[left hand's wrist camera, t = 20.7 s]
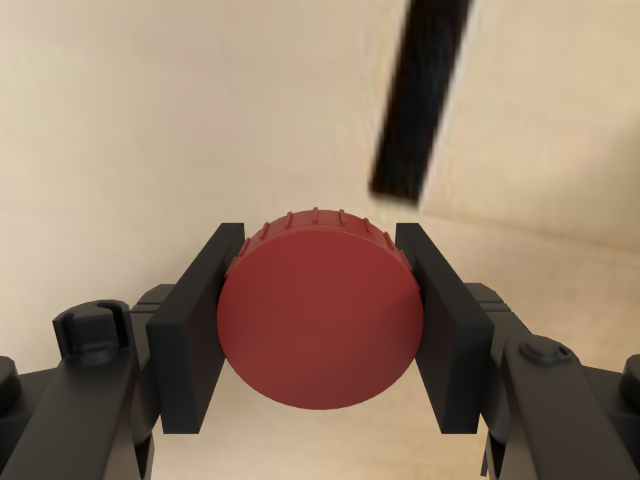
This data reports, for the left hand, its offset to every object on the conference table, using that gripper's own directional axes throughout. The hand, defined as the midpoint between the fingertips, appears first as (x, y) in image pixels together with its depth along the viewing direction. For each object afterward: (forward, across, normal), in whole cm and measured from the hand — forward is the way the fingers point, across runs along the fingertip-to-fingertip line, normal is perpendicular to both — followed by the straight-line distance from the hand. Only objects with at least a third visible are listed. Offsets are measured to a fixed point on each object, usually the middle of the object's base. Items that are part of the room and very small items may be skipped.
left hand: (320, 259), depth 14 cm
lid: (-4, 0, 0) cm, 4 cm away
